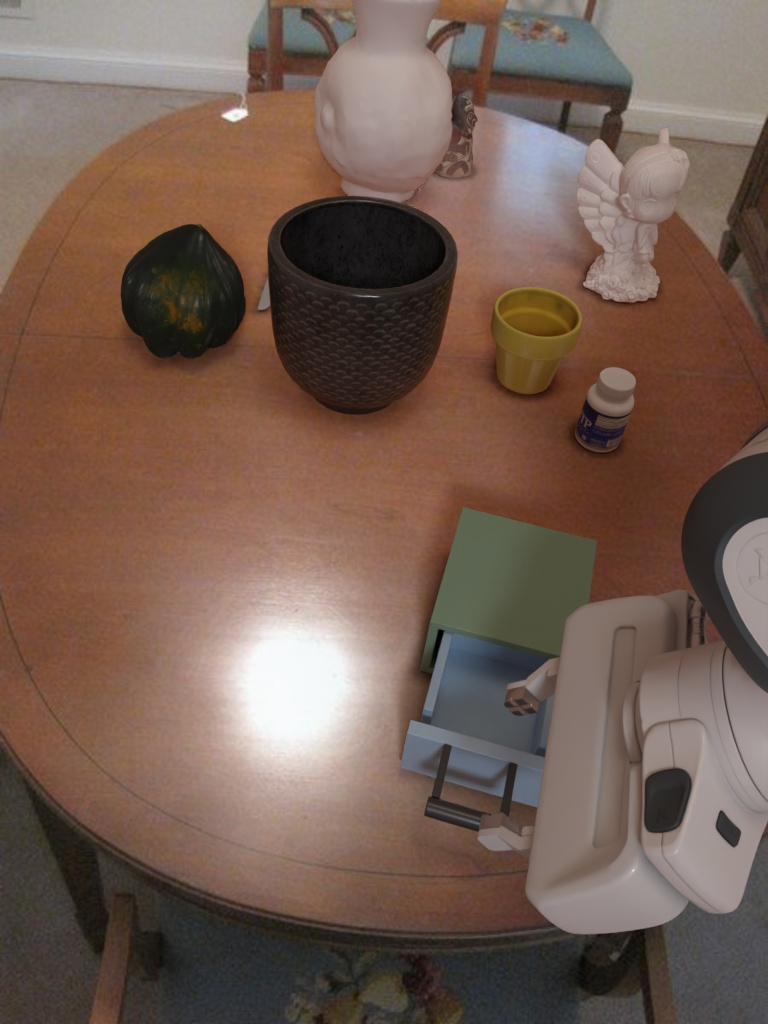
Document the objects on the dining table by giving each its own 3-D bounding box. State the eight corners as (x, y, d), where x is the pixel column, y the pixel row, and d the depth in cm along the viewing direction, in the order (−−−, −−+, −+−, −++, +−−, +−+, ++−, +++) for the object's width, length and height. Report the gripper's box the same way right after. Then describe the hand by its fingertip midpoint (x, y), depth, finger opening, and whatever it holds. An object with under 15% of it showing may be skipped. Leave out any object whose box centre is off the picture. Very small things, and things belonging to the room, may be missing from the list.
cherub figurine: (593, 310, 118) (636, 168, 103) (552, 261, 125) (587, 123, 111) (675, 299, 121) (727, 160, 106) (630, 252, 129) (674, 117, 114)
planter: (307, 460, 93) (310, 311, 79) (246, 355, 105) (240, 208, 91) (465, 419, 100) (494, 275, 86) (392, 324, 112) (407, 183, 98)
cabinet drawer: (528, 879, 64) (547, 846, 59) (380, 835, 65) (387, 799, 61) (559, 677, 76) (576, 637, 72) (434, 643, 77) (443, 601, 73)
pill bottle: (571, 421, 101) (590, 360, 95) (615, 425, 102) (637, 364, 95) (576, 452, 98) (597, 391, 91) (622, 456, 98) (646, 395, 91)
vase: (358, 237, 125) (373, 10, 103) (293, 171, 137) (294, -45, 115) (464, 213, 133) (499, -3, 111) (393, 153, 145) (413, -54, 123)
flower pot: (464, 379, 105) (477, 311, 98) (508, 341, 111) (523, 275, 104) (537, 417, 101) (556, 349, 94) (578, 376, 107) (599, 310, 100)
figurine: (462, 182, 140) (474, 107, 131) (422, 170, 141) (431, 95, 132) (478, 165, 144) (490, 91, 135) (439, 154, 146) (448, 80, 137)
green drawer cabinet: (559, 709, 75) (581, 661, 69) (419, 670, 76) (430, 621, 71) (577, 591, 84) (597, 540, 79) (451, 558, 86) (462, 506, 80)
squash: (83, 329, 97) (164, 244, 89) (112, 262, 107) (186, 181, 100) (186, 402, 104) (268, 328, 97) (203, 333, 115) (279, 261, 107)
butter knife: (307, 218, 127) (287, 215, 127) (272, 310, 111) (249, 306, 111) (307, 220, 127) (287, 218, 127) (272, 313, 111) (249, 309, 111)
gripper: (683, 552, 52) (497, 607, 60) (672, 886, 38) (433, 898, 47) (731, 614, 55) (546, 659, 63) (735, 947, 41) (499, 948, 50)
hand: (498, 763), depth 55 cm, fingers open, 8 cm apart
